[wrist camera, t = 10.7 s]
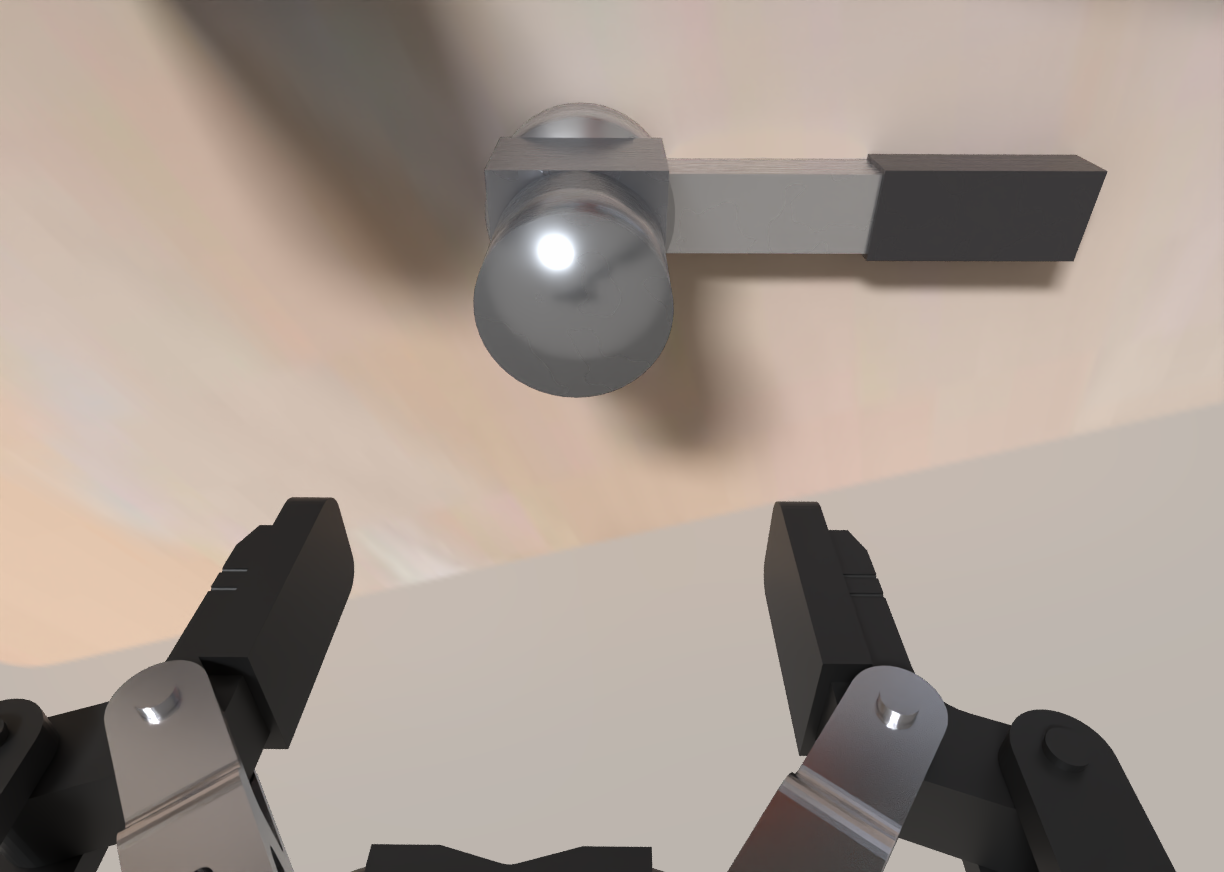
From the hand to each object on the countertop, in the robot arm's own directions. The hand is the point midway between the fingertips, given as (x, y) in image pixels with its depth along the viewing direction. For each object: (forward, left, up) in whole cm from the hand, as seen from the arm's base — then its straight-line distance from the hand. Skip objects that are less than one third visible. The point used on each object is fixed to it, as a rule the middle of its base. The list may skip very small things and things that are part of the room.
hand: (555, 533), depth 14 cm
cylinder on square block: (0, 0, -17) cm, 17 cm away
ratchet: (-8, 0, -19) cm, 21 cm away
